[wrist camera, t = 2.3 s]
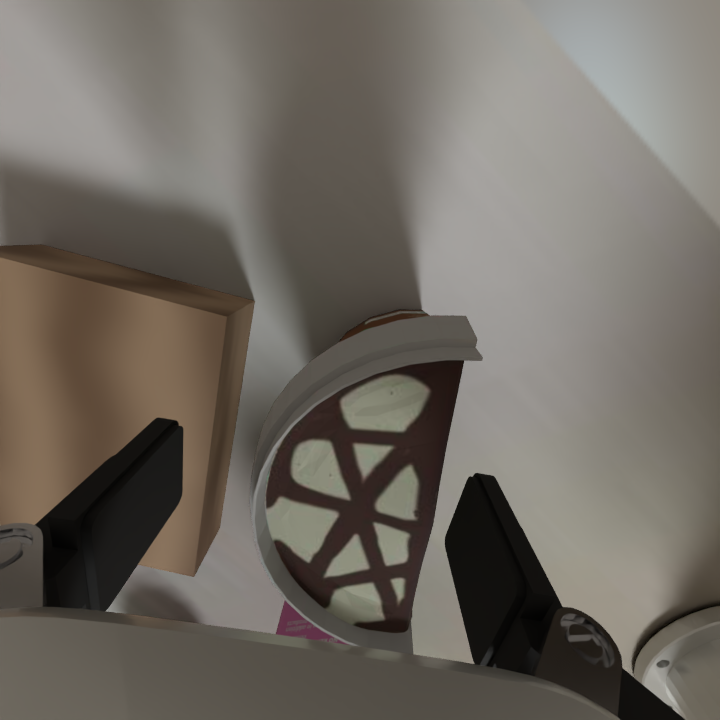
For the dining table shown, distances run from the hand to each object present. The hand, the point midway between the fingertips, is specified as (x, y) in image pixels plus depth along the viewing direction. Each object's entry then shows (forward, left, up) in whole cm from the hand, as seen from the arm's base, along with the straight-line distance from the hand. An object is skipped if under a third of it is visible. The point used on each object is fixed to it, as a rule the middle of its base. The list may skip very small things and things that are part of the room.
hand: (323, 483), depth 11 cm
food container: (-1, 0, -9) cm, 9 cm away
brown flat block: (+11, +4, -9) cm, 15 cm away
